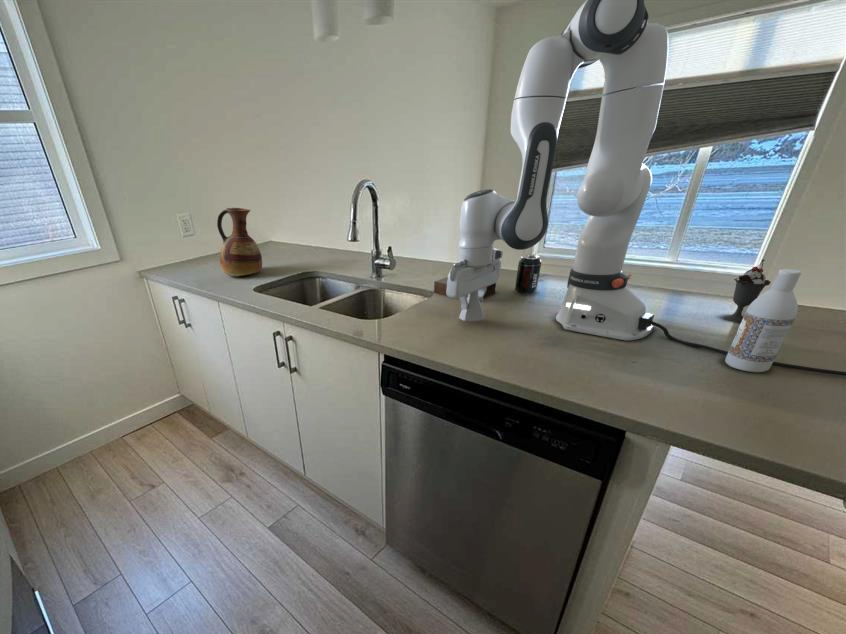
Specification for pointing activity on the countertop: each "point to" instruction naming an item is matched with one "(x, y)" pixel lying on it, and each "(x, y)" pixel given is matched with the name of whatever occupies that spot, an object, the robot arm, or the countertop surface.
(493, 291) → the spice rack
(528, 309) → the countertop surface
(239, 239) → the ceramic pitcher
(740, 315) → the sundae
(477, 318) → the flask
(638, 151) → the robot arm
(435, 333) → the countertop surface
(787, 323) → the bath foam
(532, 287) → the beverage can
